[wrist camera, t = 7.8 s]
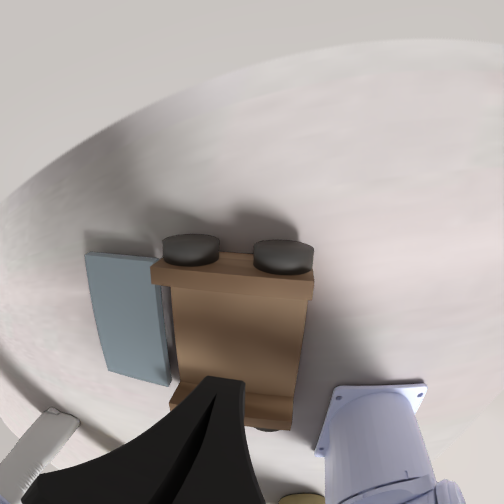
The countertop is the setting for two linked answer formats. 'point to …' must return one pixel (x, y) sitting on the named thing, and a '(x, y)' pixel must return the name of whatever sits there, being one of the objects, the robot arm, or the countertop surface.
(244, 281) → the cart bed
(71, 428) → the tall pale column
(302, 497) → the squeeze bottle
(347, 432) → the robot arm
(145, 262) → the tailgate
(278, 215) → the countertop surface
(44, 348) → the countertop surface
